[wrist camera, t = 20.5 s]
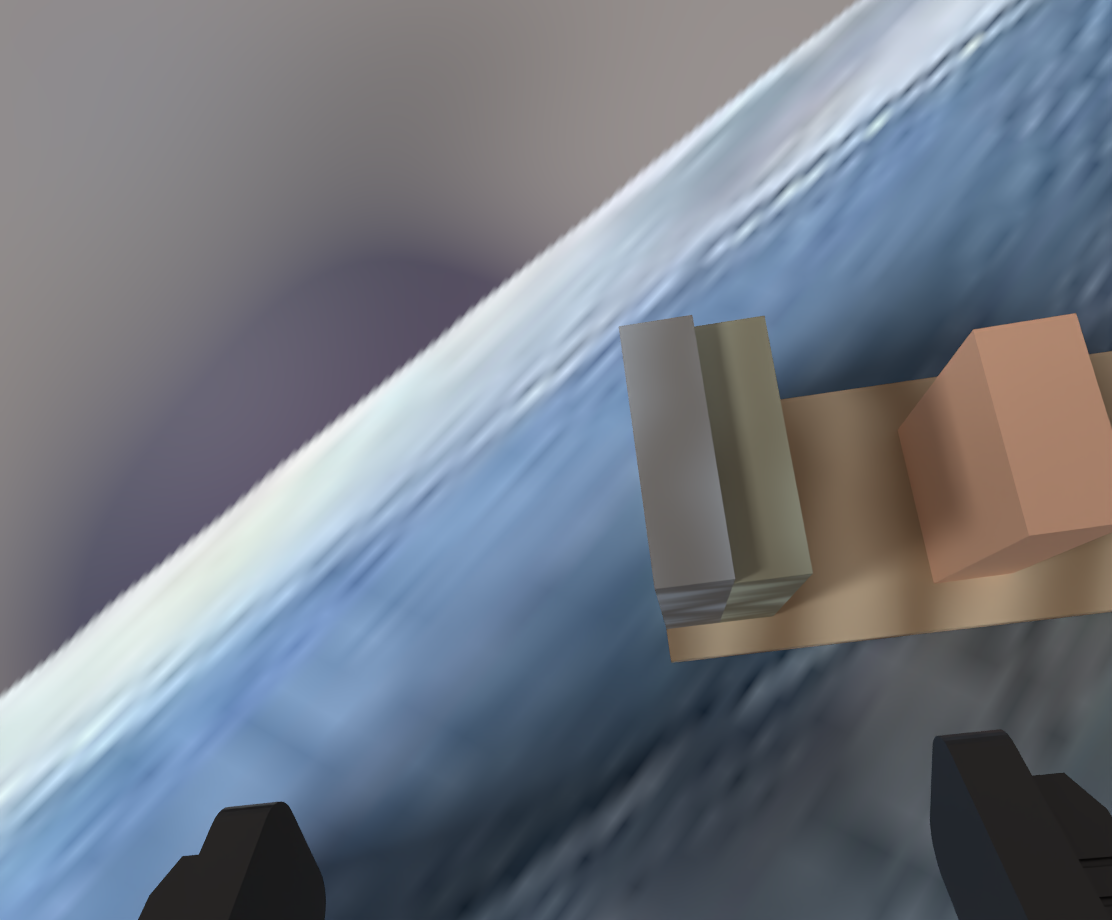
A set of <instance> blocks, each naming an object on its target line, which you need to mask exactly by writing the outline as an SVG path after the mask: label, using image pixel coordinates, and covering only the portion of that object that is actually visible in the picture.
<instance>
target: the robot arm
mask: <svg viewBox="0 0 1112 920" xmlns="http://www.w3.org/2000/svg"><path fill="white" fill-rule="evenodd" d="M930 828H931V836H932V842H933V847H934V851H935V855H936V859H937V863H938V866H939V869H940V872H941V875H942V878H943V881H944V883H945V886H946V888H947V891H948V893H949V896H950V898H951V901H952V903H953V906H954V909H955V911H956V914H957V916H958V919H959V920H1112V816H1111V815H1110V813H1109V812H1108V810H1107V809H1106V808H1105V807H1104V806H1103V805H1101V804H1100V803H1099V802H1098V801H1097V800H1096V799H1094V798H1093V797H1092V796H1091V795H1090V794H1088V793H1087V792H1086V791H1085V790H1084V789H1083V788H1081V787H1080V786H1079V785H1078V784H1077V783H1075V782H1074V781H1073V780H1072V779H1071V778H1070V777H1068V776H1067V775H1066V774H1065V773H1056V774H1046V775H1036V776H1032V775H1031V773H1030V771H1029V769H1028V768H1027V766H1026V764H1025V762H1024V760H1023V759H1022V757H1021V755H1020V753H1019V751H1018V750H1017V748H1016V746H1015V744H1014V743H1013V741H1012V739H1011V738H1010V737H1009V735H1008V734H1007V733H1006V732H1005V731H1003V730H990V731H981V732H971V733H961V734H952V735H942V736H936V737H935V739H934V741H933V752H932V779H931V806H930ZM325 907H326V897H325V887H324V882H323V878H322V875H321V872H320V870H319V868H318V866H317V864H316V862H315V860H314V857H313V855H312V853H311V851H310V849H309V847H308V845H307V843H306V840H305V838H304V836H303V834H302V832H301V830H300V828H299V826H298V823H297V821H296V819H295V817H294V815H293V813H292V811H291V809H290V807H289V806H288V805H287V804H286V803H284V802H272V803H263V804H253V805H243V806H234V807H226V808H224V809H222V810H221V811H220V812H219V813H218V815H217V816H216V817H215V819H214V821H213V823H212V826H211V828H210V830H209V832H208V835H207V837H206V839H205V842H204V844H203V846H202V849H201V851H200V853H199V855H191V856H182V857H181V859H180V860H179V861H178V862H177V863H176V865H175V866H174V867H173V868H172V869H171V871H170V872H169V873H168V874H167V875H166V876H165V878H164V879H163V880H162V881H161V882H160V884H159V885H158V886H157V887H156V888H155V890H154V891H153V892H152V893H151V894H150V895H149V898H148V900H147V902H146V904H145V906H144V908H143V910H142V913H141V915H140V917H139V919H138V920H324V919H325Z"/></svg>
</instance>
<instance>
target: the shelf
mask: <svg viewBox="0 0 1112 920" xmlns="http://www.w3.org/2000/svg"><path fill="white" fill-rule="evenodd" d="M619 332H620V339H621V346H622V353H623V361H624V368H625V375H626V383H627V390H628V397H629V405H630V412H631V419H632V426H633V434H634V441H635V448H636V456H637V463H638V470H639V477H640V485H641V492H642V499H643V507H644V514H645V521H646V528H647V536H648V543H649V550H650V558H651V565H652V572H653V580H654V587H655V591H656V595H657V598H658V602H659V605H660V608H661V612H662V615H663V619H664V622H665V625H666V629H667V636H668V643H669V650H670V657H671V662H672V663H674V662H683V661H692V660H700V659H709V658H718V657H726V656H735V655H744V654H752V653H761V652H769V651H778V650H787V649H795V648H804V647H813V646H821V645H830V644H838V643H847V642H856V641H864V640H873V639H882V638H890V637H899V636H908V635H916V634H925V633H933V632H942V631H951V630H959V629H968V628H977V627H985V626H994V625H1002V624H1011V623H1020V622H1028V621H1037V620H1046V619H1054V618H1063V617H1072V616H1080V615H1089V614H1097V613H1106V612H1112V533H1109V534H1107V535H1104V536H1102V537H1099V538H1097V539H1095V540H1092V541H1090V542H1087V543H1085V544H1083V545H1080V546H1078V547H1075V548H1073V549H1070V550H1068V551H1066V552H1063V553H1061V554H1058V555H1056V556H1053V557H1051V558H1049V559H1046V560H1044V561H1041V562H1039V563H1037V564H1034V565H1032V566H1029V567H1027V568H1024V569H1022V570H1020V571H1017V572H1015V573H1011V574H1004V575H996V576H988V577H981V578H973V579H966V580H958V581H950V582H943V583H935V584H934V582H933V578H932V573H931V569H930V565H929V561H928V557H927V552H926V548H925V544H924V540H923V535H922V531H921V527H920V523H919V519H918V514H917V510H916V506H915V502H914V497H913V493H912V489H911V485H910V481H909V476H908V472H907V468H906V464H905V459H904V455H903V451H902V447H901V443H900V438H899V434H898V429H899V427H900V426H901V425H902V423H903V422H904V421H905V419H906V418H907V417H908V415H909V414H910V413H911V412H912V410H913V409H914V408H915V406H916V405H917V404H918V402H919V401H920V400H921V398H922V397H923V396H924V394H925V393H926V392H927V390H928V389H929V388H930V386H931V385H932V384H933V382H934V381H935V380H936V378H937V377H931V378H925V379H918V380H911V381H904V382H897V383H890V384H884V385H877V386H870V387H863V388H856V389H849V390H843V391H836V392H829V393H822V394H815V395H808V396H802V397H795V398H788V399H781V400H780V396H779V390H778V385H777V380H776V374H775V369H774V364H773V359H772V353H771V348H770V343H769V337H768V332H767V327H766V321H765V316H759V317H753V318H747V319H740V320H734V321H727V322H721V323H715V324H708V325H702V326H696V327H694V323H693V317H692V315H689V316H683V317H676V318H670V319H664V320H657V321H651V322H645V323H638V324H632V325H626V326H619ZM1089 357H1090V360H1091V363H1092V366H1093V370H1094V373H1095V376H1096V379H1097V383H1098V386H1099V389H1100V392H1101V396H1102V399H1103V402H1104V405H1105V408H1106V412H1107V415H1108V418H1109V421H1110V425H1111V428H1112V351H1109V352H1102V353H1096V354H1089Z"/></svg>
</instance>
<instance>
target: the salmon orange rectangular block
mask: <svg viewBox="0 0 1112 920" xmlns="http://www.w3.org/2000/svg"><path fill="white" fill-rule="evenodd" d="M898 434H899V438H900V443H901V447H902V451H903V455H904V459H905V464H906V468H907V472H908V476H909V481H910V485H911V489H912V493H913V497H914V502H915V506H916V510H917V514H918V519H919V523H920V527H921V531H922V535H923V540H924V544H925V548H926V552H927V557H928V561H929V565H930V569H931V573H932V578H933V582H934V584H935V583H943V582H950V581H958V580H966V579H973V578H981V577H988V576H996V575H1004V574H1011V573H1015V572H1017V571H1020V570H1022V569H1024V568H1027V567H1029V566H1032V565H1034V564H1037V563H1039V562H1041V561H1044V560H1046V559H1049V558H1051V557H1053V556H1056V555H1058V554H1061V553H1063V552H1066V551H1068V550H1070V549H1073V548H1075V547H1078V546H1080V545H1083V544H1085V543H1087V542H1090V541H1092V540H1095V539H1097V538H1099V537H1102V536H1104V535H1107V534H1109V533H1112V428H1111V425H1110V421H1109V418H1108V415H1107V412H1106V408H1105V405H1104V402H1103V399H1102V396H1101V392H1100V389H1099V386H1098V383H1097V379H1096V376H1095V373H1094V370H1093V366H1092V363H1091V360H1090V357H1089V354H1088V350H1087V347H1086V344H1085V341H1084V337H1083V334H1082V331H1081V328H1080V324H1079V321H1078V318H1077V315H1076V313H1074V314H1068V315H1061V316H1055V317H1049V318H1043V319H1036V320H1030V321H1024V322H1018V323H1011V324H1005V325H999V326H993V327H986V328H980V329H974V330H972V332H971V333H970V334H969V336H968V337H967V338H966V340H965V341H964V342H963V344H962V345H961V346H960V348H959V349H958V350H957V352H956V353H955V354H954V356H953V357H952V358H951V360H950V361H949V362H948V364H947V365H946V366H945V368H944V369H943V370H942V372H941V373H940V374H939V376H938V377H937V378H936V380H935V381H934V382H933V384H932V385H931V386H930V388H929V389H928V390H927V392H926V393H925V394H924V396H923V397H922V398H921V400H920V401H919V402H918V404H917V405H916V406H915V408H914V409H913V410H912V412H911V413H910V414H909V415H908V417H907V418H906V419H905V421H904V422H903V423H902V425H901V426H900V427H899V429H898Z"/></svg>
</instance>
